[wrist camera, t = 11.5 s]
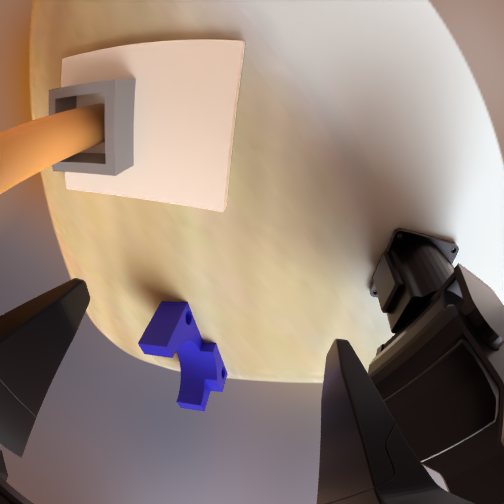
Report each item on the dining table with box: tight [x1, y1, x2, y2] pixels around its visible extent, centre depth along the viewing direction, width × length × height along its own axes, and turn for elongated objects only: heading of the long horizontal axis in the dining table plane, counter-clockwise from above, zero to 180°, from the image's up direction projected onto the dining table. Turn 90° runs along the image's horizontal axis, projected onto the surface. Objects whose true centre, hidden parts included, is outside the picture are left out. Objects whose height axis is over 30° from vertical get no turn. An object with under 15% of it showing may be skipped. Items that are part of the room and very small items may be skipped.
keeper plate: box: [49, 39, 245, 212], centre depth 17 cm, size 15×12×4 cm
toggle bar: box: [0, 103, 105, 194], centre depth 12 cm, size 3×3×12 cm
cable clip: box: [138, 301, 227, 411], centre depth 28 cm, size 12×4×6 cm, turn 9°
